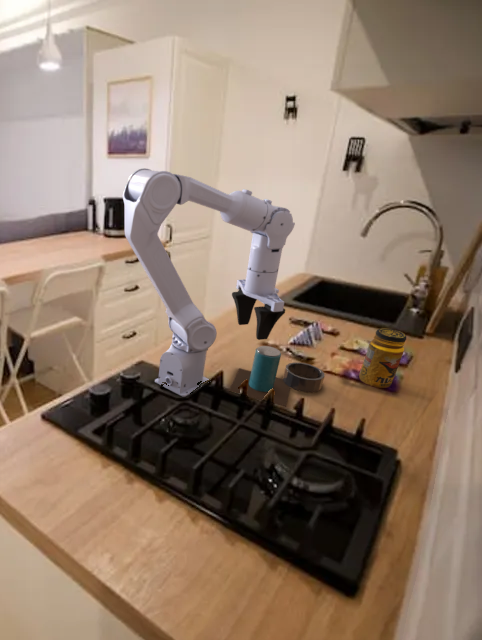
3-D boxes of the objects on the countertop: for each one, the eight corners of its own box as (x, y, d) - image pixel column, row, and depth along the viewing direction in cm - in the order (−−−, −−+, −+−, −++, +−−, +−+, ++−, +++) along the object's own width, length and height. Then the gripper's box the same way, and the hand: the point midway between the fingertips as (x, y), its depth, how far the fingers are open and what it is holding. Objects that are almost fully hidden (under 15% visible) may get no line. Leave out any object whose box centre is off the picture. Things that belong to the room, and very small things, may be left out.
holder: (311, 398, 82) (315, 383, 80) (276, 383, 87) (279, 369, 85) (326, 386, 86) (330, 371, 85) (291, 372, 91) (295, 359, 90)
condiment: (393, 394, 84) (413, 342, 79) (346, 383, 87) (363, 333, 82) (390, 379, 89) (409, 329, 84) (346, 369, 93) (362, 321, 88)
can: (265, 394, 82) (274, 358, 78) (244, 385, 85) (251, 350, 82) (277, 386, 85) (285, 351, 81) (256, 377, 88) (263, 343, 85)
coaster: (285, 409, 79) (286, 406, 78) (227, 393, 83) (228, 391, 83) (291, 383, 87) (291, 380, 87) (238, 370, 92) (239, 368, 92)
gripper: (304, 278, 75) (289, 344, 80) (261, 258, 87) (251, 316, 93) (269, 280, 73) (257, 347, 79) (230, 260, 86) (223, 319, 92)
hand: (252, 331), depth 86 cm, fingers open, 7 cm apart
